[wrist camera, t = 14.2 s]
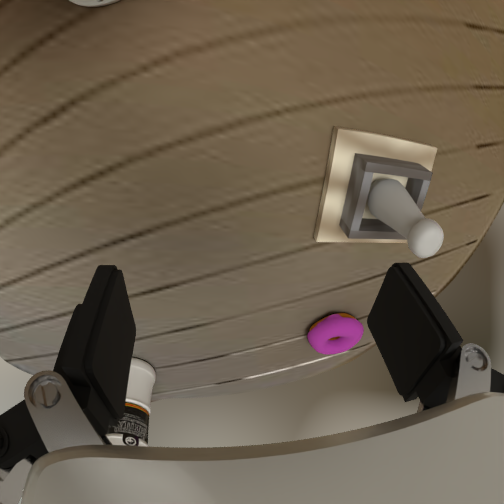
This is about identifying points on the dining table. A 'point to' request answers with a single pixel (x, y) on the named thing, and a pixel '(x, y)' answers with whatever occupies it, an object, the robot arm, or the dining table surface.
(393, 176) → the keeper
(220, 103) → the dining table surface
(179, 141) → the dining table surface
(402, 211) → the salt shaker
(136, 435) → the vodka
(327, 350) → the donut
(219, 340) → the dining table surface
